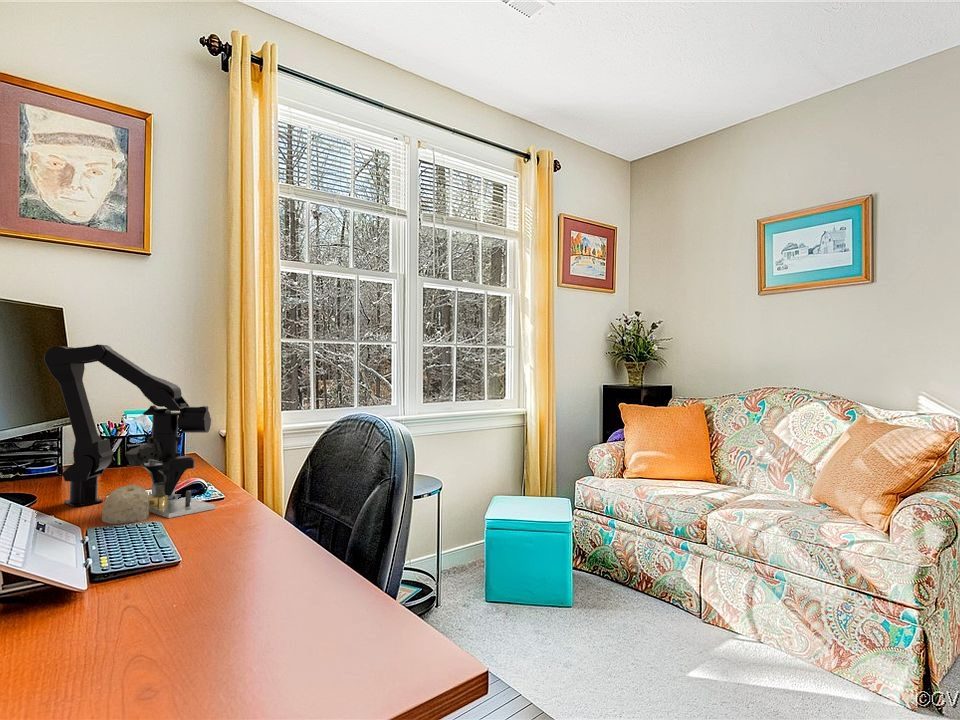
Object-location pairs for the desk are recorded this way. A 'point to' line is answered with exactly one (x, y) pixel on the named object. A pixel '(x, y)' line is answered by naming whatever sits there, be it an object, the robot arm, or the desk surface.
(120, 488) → the brown rounded stone
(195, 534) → the desk surface
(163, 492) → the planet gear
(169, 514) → the carrier plate
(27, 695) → the desk surface
